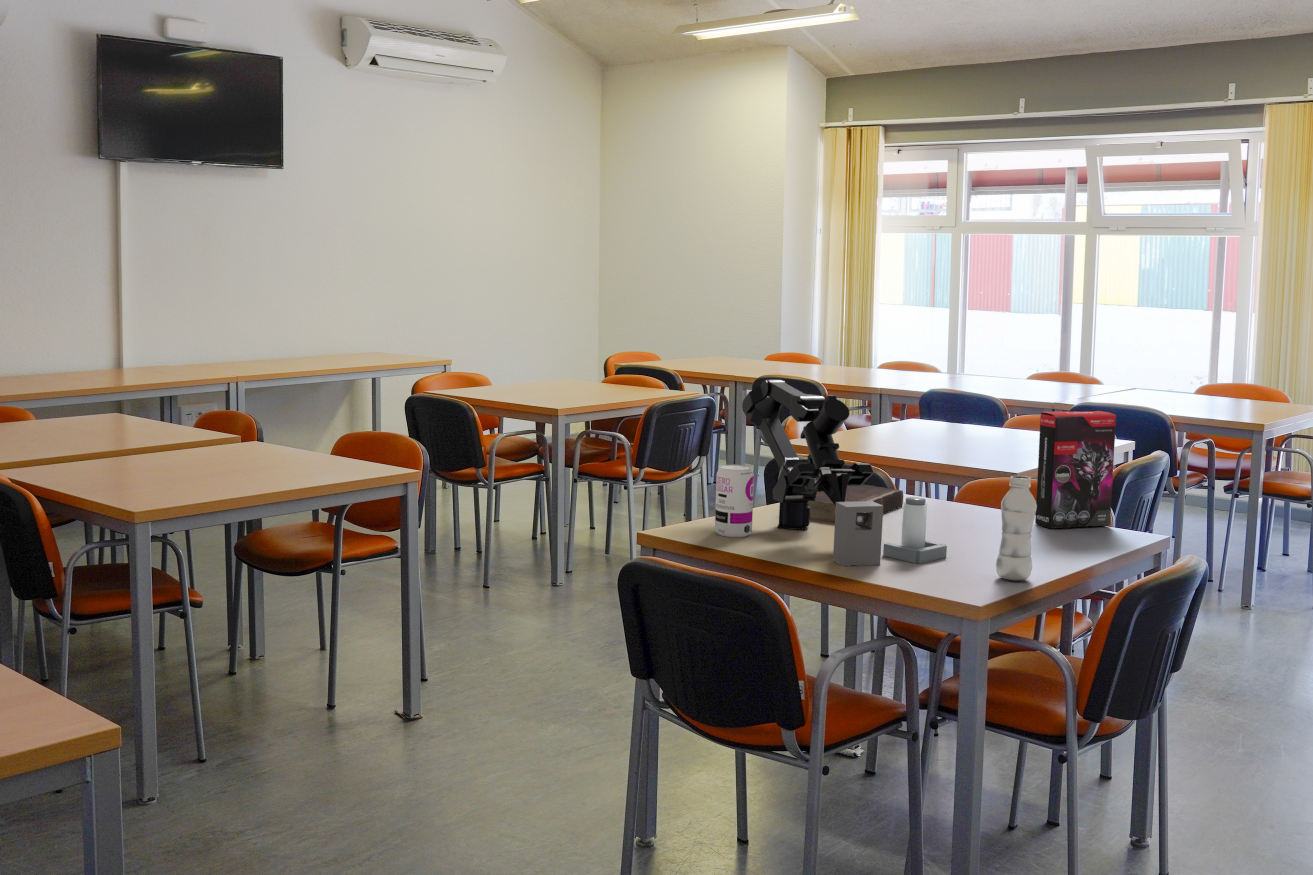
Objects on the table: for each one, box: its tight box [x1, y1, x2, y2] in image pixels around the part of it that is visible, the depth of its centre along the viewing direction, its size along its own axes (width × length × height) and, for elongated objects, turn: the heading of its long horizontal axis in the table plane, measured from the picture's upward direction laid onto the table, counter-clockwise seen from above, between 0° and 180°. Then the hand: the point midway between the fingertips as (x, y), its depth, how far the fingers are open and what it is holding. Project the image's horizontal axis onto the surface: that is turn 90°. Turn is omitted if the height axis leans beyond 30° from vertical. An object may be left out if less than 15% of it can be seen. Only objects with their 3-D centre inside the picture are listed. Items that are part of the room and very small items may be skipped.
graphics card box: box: [1034, 410, 1117, 529], centre depth 270 cm, size 17×7×27 cm, turn 107°
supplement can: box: [714, 464, 755, 538], centre depth 252 cm, size 8×8×15 cm
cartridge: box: [900, 496, 928, 549], centre depth 236 cm, size 5×5×12 cm
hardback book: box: [808, 484, 904, 523], centre depth 283 cm, size 29×19×5 cm, turn 146°
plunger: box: [835, 508, 867, 527], centre depth 231 cm, size 9×4×4 cm, turn 15°
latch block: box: [832, 501, 884, 567], centre depth 229 cm, size 5×8×12 cm, turn 105°
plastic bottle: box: [995, 475, 1037, 582], centre depth 218 cm, size 6×7×20 cm
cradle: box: [882, 539, 948, 564], centre depth 236 cm, size 9×10×2 cm
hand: (841, 509), depth 241 cm, fingers closed
